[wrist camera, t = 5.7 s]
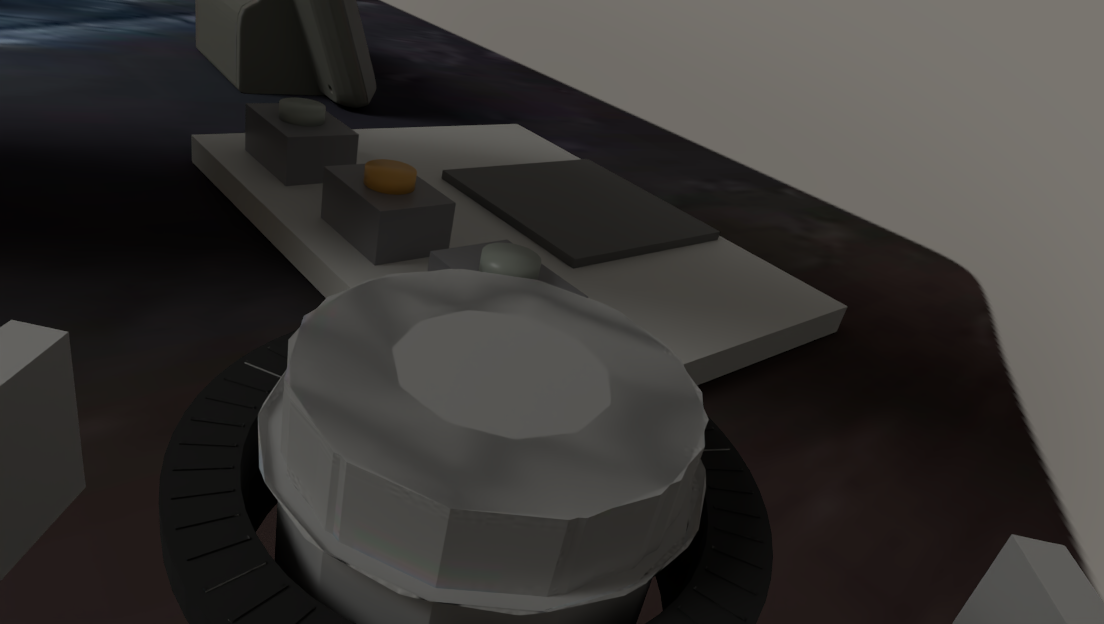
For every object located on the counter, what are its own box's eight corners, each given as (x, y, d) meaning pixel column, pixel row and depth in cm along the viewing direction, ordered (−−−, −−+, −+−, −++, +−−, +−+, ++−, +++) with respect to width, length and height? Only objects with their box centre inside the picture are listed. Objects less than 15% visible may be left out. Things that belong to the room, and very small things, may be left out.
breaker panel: (191, 161, 34) (190, 73, 32) (513, 144, 45) (525, 78, 44) (490, 465, 21) (515, 345, 19) (836, 331, 32) (873, 249, 30)
